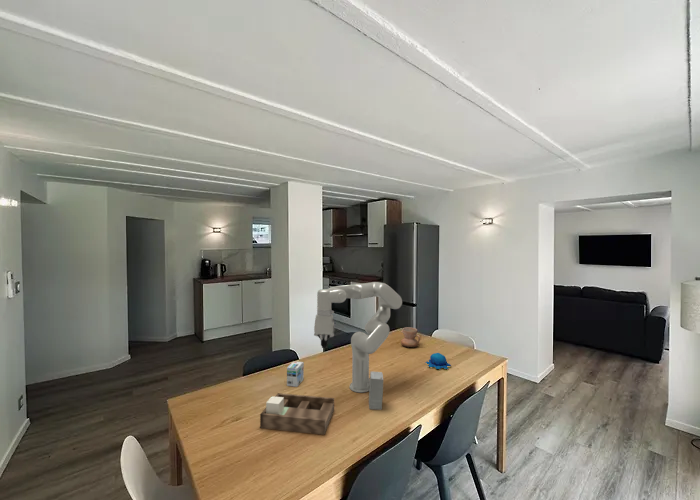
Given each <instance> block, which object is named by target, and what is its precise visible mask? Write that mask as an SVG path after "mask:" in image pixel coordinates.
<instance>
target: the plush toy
mask: <svg viewBox="0 0 700 500" xmlns="http://www.w3.org/2000/svg"><path fill="white" fill-rule="evenodd" d="M429 358H430V359H428V360H429V362H428V361H425V363H427V364H429V365H427V366H429V367H433V368H434V367H435V368H436V369H441V368H444V369H448V370H449V367H447V366H451V367H452V364H451V363H449V362H448V361H447V357H446V356H445V355H444V354H442V353H440V352H435V353H432V354H431V355H430V357H429ZM447 362H448V363H447ZM435 368H434V369H435ZM436 369H435V370H436ZM441 370H442V369H441Z"/></svg>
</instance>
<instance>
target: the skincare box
mask: <svg viewBox="0 0 700 500" xmlns="http://www.w3.org/2000/svg"><path fill="white" fill-rule="evenodd" d="M369 378H370V388H369V391H368V408H369V410H381V411H382V410H383V395H384V393H383V392H384V374H383V372H382V371H369Z"/></svg>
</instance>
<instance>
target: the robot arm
mask: <svg viewBox="0 0 700 500" xmlns="http://www.w3.org/2000/svg"><path fill="white" fill-rule="evenodd" d="M316 295H317V296H316V297H317V299H316V302H317V304H316V309H317V310H316V311H317V312H316V315H315V318H314V319H315V320H314V327H313V328H314V329H313V330H314V332H313V333H314V334H313V336H315V337H317V338H319V340H320V346H321V349H326V347H327V346H328V339H330V338H334V336H335V321H334V315H333V314H334V313H335V311H334V310H332V304H333V303H334V304H341V303H344V302H345V301H346V300H347V299H353V300H362V299H363V300H364V299H368V298H375V297H377V298H378V309H377V311H376V312H375V314H374V315H373V316H372V317H370V319H369V320H368V321H367V322H366V323H365V325H364V330H365V332H366V333H365V332H363V331H357V332H356V331H355V332H354V333H353V334H352V336H351V337H350V345H351V352H352V353H351V354H352V363H351V364H352V367H351V368H352V369H351V370H352V375H351V376H352V377H351V380H352V381H351V383H349V389H350V391H352V392H354V393H360V394H361V393H369V388H370V355H372V354H374V353H375V352H376V351H377V350H378V349H379V348H380V347H381V346H382V344H383V343H384V342H385V341H386V339H388V336H389V334H390V326H389V324H387V323H388V321H389V320H390V318H391V309H393V310H399V309H400V308H401V307H402V306H403V299H402V296H401V295H400V294H399V293H397V292H396V291H395V290H394V289H393V288H392V287H391V286H389V285H388V284H386V283H385V282H380V281H372V282H366V283H365V282H364V283H358V284H356V283H355V284H347V285H345V284H344V285H336V286H330V287H329V288H327V289H325V288H322V289H318V290H317V294H316Z"/></svg>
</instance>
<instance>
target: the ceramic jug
mask: <svg viewBox="0 0 700 500" xmlns="http://www.w3.org/2000/svg"><path fill="white" fill-rule="evenodd" d="M400 332H401V333H402V334H403V336H404V337H403V338H402V339H401V340H400V344H401V345H402V346H403V347H405V348H409V347H413V348H417V347H418V346H419V343H420V341H421V336H420V335H419V334H418V329H417V328H416V327H410V326H409V327H407V326H406V327H402V330H401V331H400ZM416 337H418V339H416Z"/></svg>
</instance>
